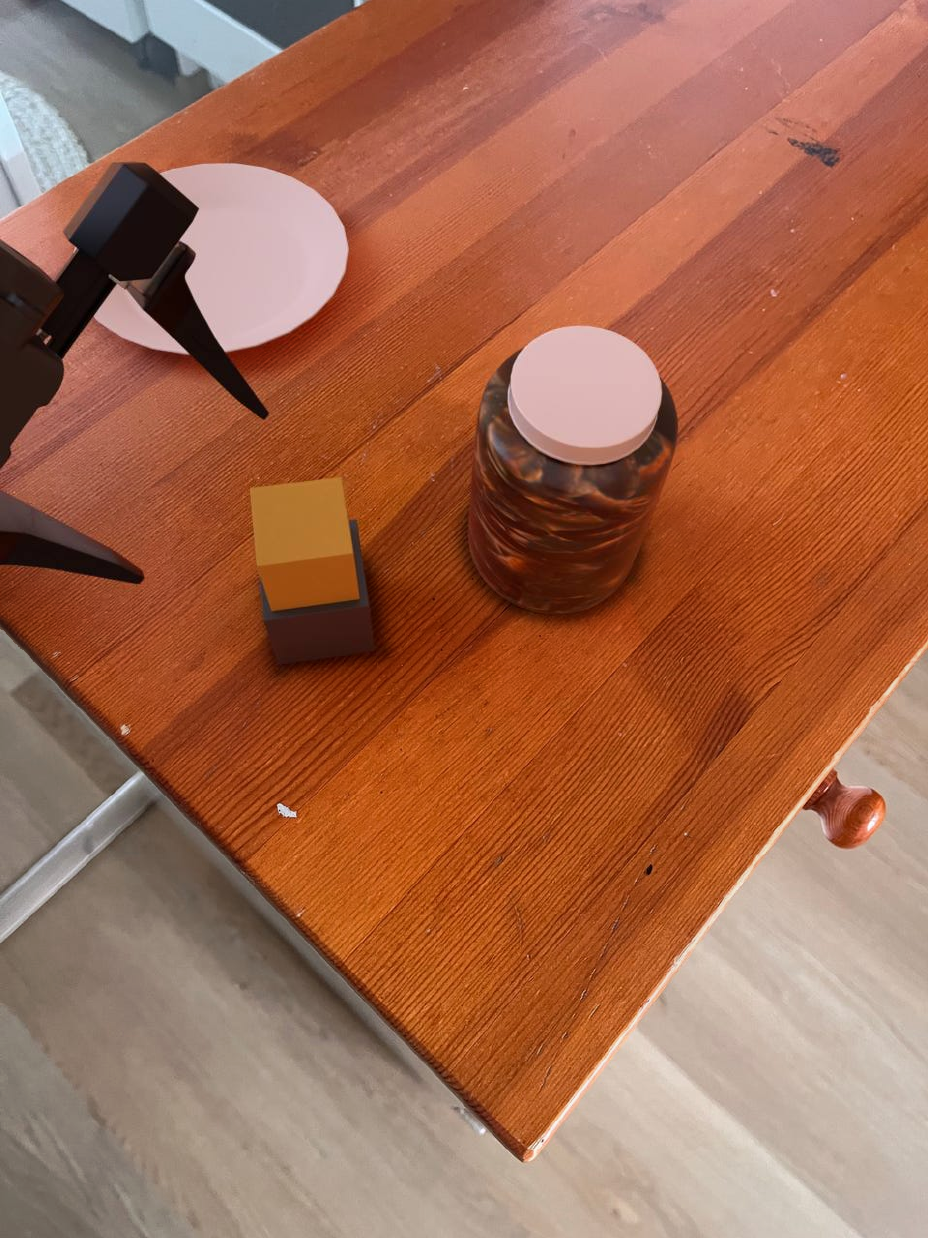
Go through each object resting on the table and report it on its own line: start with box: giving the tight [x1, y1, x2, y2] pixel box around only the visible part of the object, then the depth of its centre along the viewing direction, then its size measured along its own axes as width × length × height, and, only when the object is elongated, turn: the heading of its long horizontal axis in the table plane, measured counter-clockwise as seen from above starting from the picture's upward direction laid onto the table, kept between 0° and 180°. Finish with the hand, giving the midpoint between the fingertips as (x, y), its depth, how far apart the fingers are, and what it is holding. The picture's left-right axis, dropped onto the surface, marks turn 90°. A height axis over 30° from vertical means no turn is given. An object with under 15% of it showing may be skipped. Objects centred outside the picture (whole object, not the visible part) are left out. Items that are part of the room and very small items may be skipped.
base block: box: [258, 518, 376, 666], centre depth 55 cm, size 6×6×6 cm
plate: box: [72, 162, 350, 356], centre depth 70 cm, size 21×21×2 cm
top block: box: [249, 476, 359, 611], centre depth 50 cm, size 5×5×5 cm
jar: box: [467, 325, 679, 615], centre depth 54 cm, size 12×12×15 cm
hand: (202, 497), depth 40 cm, fingers open, 9 cm apart
